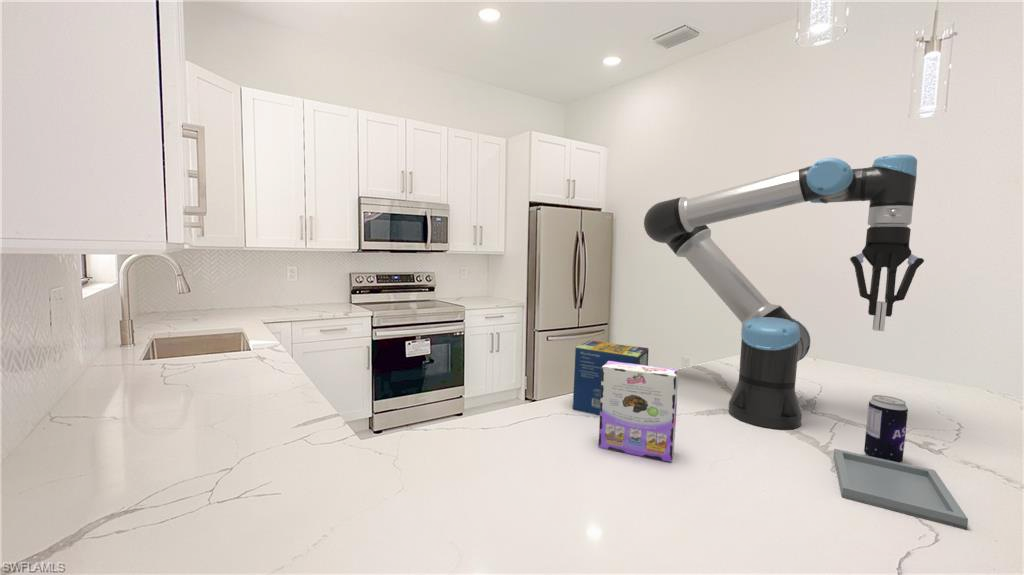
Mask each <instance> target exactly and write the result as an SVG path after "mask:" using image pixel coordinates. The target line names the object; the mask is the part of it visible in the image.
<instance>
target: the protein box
mask: <svg viewBox="0 0 1024 575" xmlns="http://www.w3.org/2000/svg"><path fill="white" fill-rule="evenodd" d="M574 348H575V350H574V353H575V354H574V370H573V371H574V372H573V373H574V374H573V395H572V396H573V398H572V410H575V411H579V412H583V413H588V414H593V415H597V416H600V398H601V369H602V366H604V365H605V364H606V362H608V361H614V362H622V363H630V364H638V365H646V366H649V352H650V351H649V348H648V347H642V346H634V345H627V344H618V343H614V342H613V343H612V342H611V343H610V342H605V341H596V340H589V341H586V342H584V343H582V344H579V345H577V346H575V347H574Z"/></svg>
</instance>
